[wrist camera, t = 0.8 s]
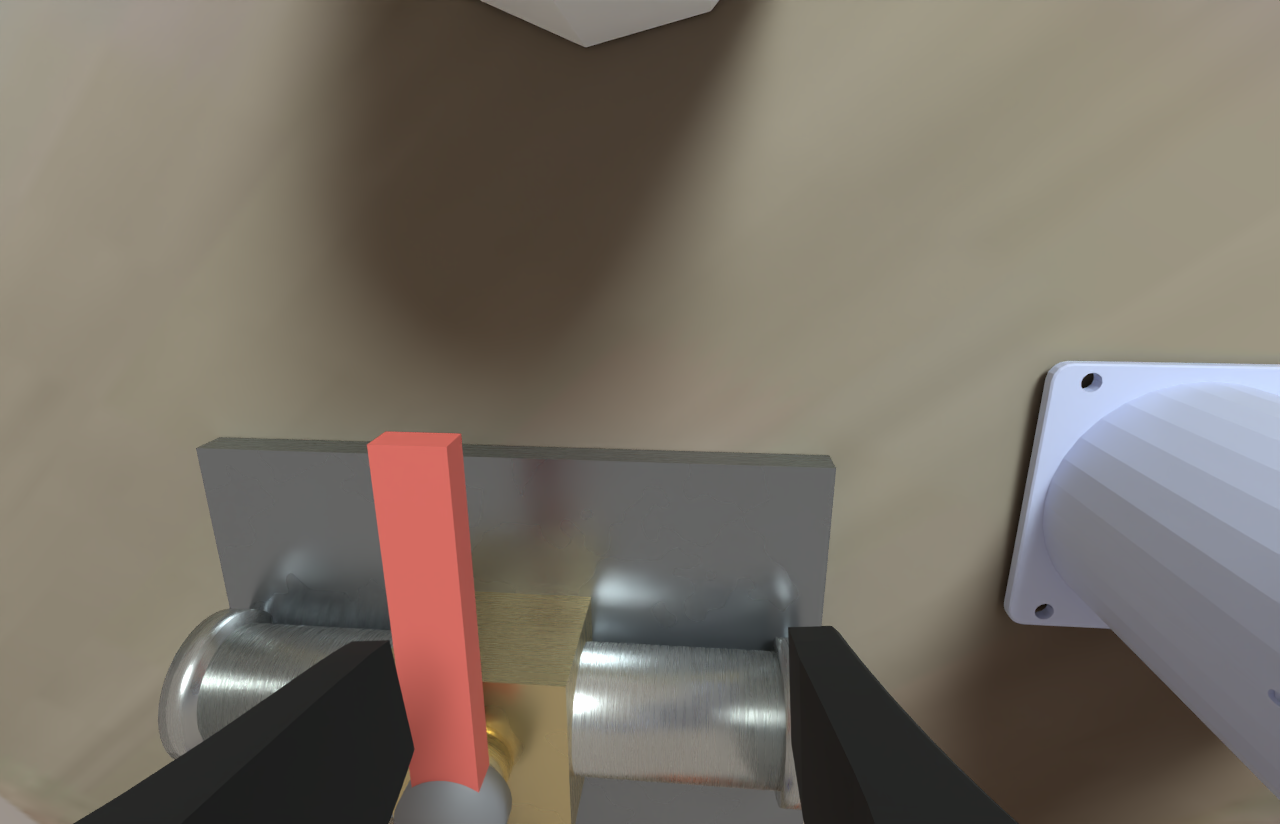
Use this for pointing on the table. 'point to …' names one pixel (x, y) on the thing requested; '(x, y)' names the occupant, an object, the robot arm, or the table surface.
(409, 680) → the lever
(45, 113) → the table surface
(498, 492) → the valve assembly
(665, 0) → the toilet paper
